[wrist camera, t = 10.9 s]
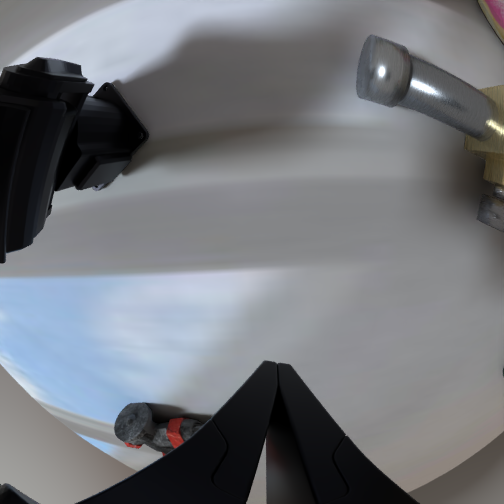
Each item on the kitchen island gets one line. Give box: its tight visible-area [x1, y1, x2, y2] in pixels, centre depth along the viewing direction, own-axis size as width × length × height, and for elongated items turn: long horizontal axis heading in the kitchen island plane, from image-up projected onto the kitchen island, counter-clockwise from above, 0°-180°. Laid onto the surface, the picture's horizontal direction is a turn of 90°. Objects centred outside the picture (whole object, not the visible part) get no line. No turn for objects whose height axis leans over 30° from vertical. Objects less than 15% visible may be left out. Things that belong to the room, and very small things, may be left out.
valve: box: [114, 402, 203, 456], centre depth 28 cm, size 6×26×15 cm
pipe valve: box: [356, 35, 504, 200], centre depth 12 cm, size 18×8×5 cm, turn 82°
